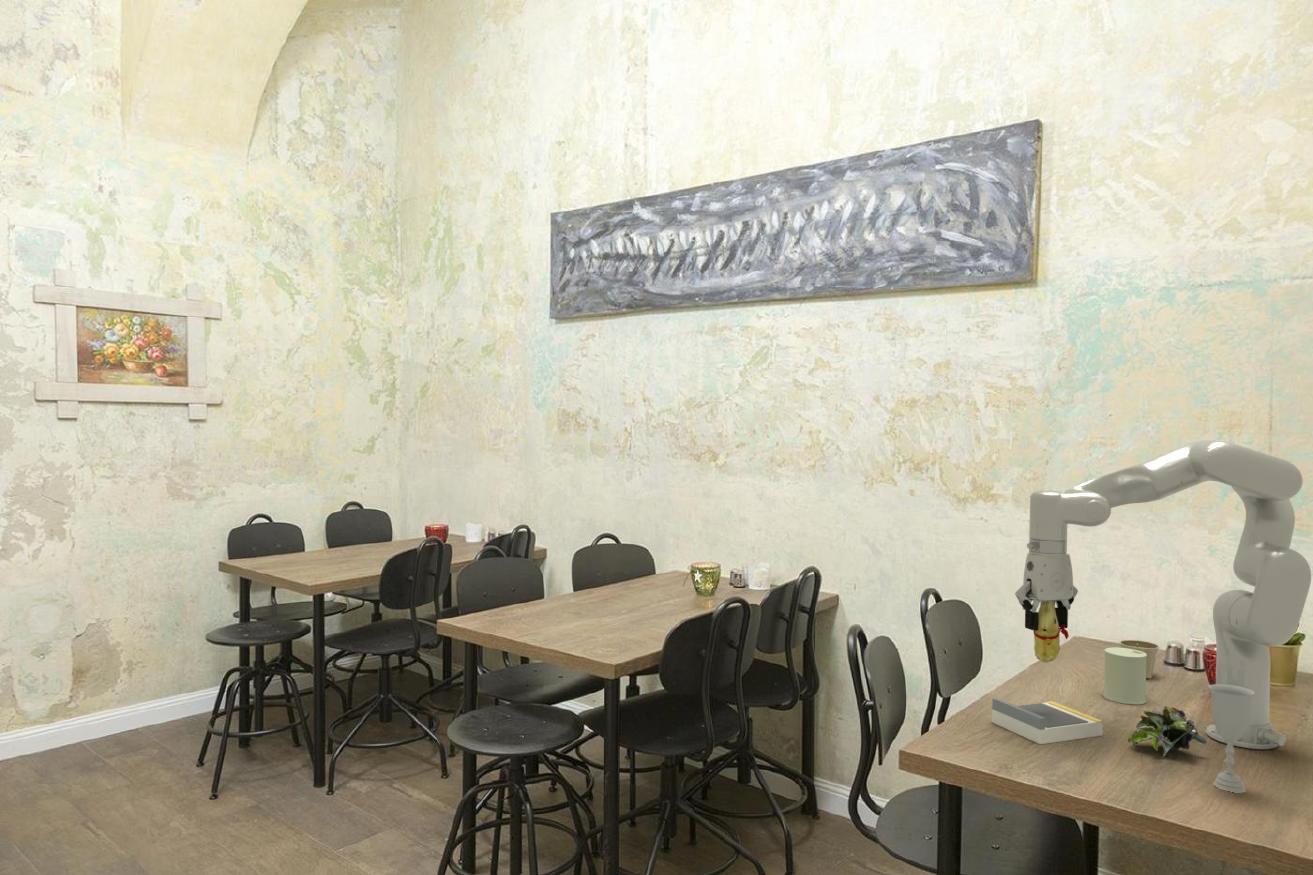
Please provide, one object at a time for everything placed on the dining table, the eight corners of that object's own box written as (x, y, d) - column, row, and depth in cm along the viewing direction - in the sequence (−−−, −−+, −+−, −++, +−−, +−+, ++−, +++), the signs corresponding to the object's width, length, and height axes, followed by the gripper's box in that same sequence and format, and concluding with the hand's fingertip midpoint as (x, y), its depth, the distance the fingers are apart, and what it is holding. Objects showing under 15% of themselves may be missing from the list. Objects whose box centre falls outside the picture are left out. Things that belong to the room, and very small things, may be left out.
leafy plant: (1173, 775, 176) (1215, 734, 173) (1165, 782, 168) (1209, 738, 165) (1124, 733, 183) (1164, 692, 180) (1114, 737, 174) (1155, 694, 172)
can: (1154, 705, 205) (1155, 655, 205) (1115, 704, 205) (1116, 654, 205) (1133, 693, 214) (1134, 645, 214) (1096, 692, 214) (1097, 644, 214)
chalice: (1235, 779, 161) (1237, 684, 161) (1262, 795, 154) (1264, 695, 154) (1197, 779, 161) (1199, 684, 160) (1222, 795, 154) (1224, 695, 154)
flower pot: (1123, 679, 227) (1123, 646, 227) (1115, 669, 236) (1115, 638, 236) (1163, 682, 224) (1163, 649, 224) (1153, 673, 233) (1154, 641, 233)
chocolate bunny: (1030, 662, 184) (1031, 592, 184) (1036, 651, 193) (1037, 585, 193) (1065, 667, 180) (1066, 596, 180) (1069, 655, 190) (1071, 588, 190)
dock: (1102, 735, 184) (1102, 710, 184) (1040, 744, 178) (1040, 718, 178) (1051, 714, 197) (1051, 691, 197) (992, 722, 191) (992, 698, 191)
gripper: (1029, 551, 180) (1027, 634, 180) (1092, 548, 186) (1090, 629, 186) (1003, 546, 187) (1001, 626, 187) (1065, 544, 193) (1063, 622, 193)
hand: (1046, 627), depth 187 cm, fingers closed on chocolate bunny, 7 cm apart
